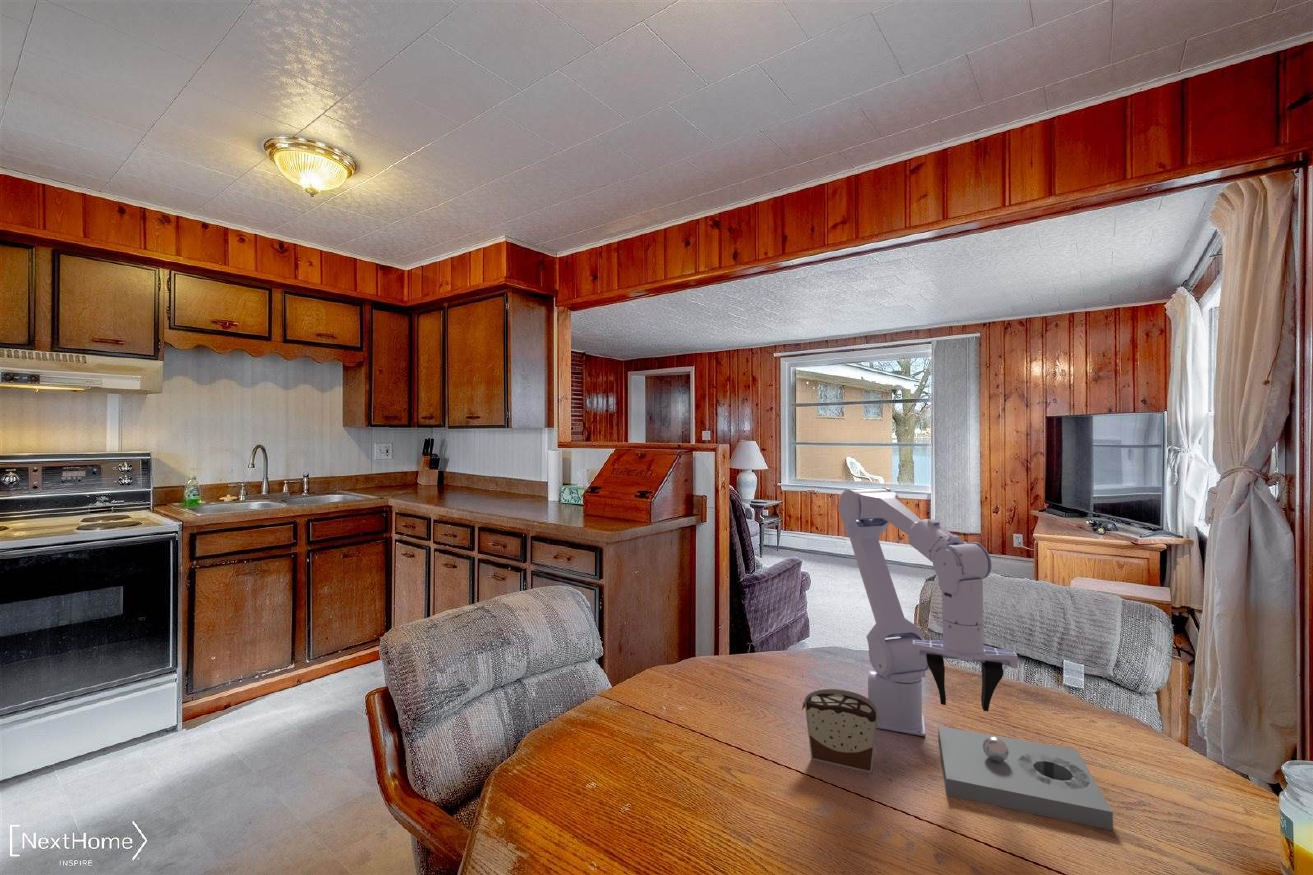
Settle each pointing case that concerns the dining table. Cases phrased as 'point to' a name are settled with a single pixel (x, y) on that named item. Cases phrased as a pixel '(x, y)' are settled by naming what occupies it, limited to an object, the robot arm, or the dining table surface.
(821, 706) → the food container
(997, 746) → the ball
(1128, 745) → the dining table surface
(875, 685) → the robot arm
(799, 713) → the dining table surface
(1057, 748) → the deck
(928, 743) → the dining table surface
